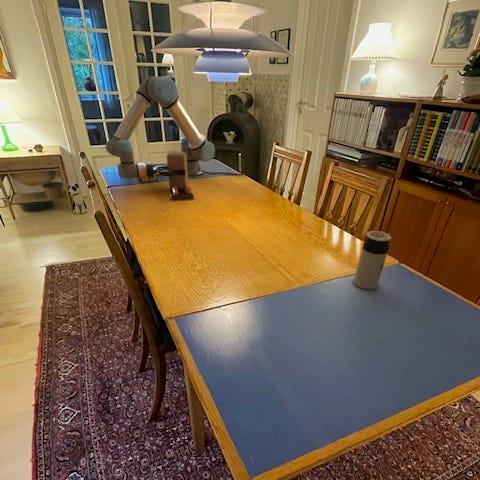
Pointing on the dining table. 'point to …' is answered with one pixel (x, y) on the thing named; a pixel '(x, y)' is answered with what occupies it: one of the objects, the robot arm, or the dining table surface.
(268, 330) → the dining table surface
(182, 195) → the brown tray
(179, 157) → the block
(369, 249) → the travel mug
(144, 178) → the puzzle cube
